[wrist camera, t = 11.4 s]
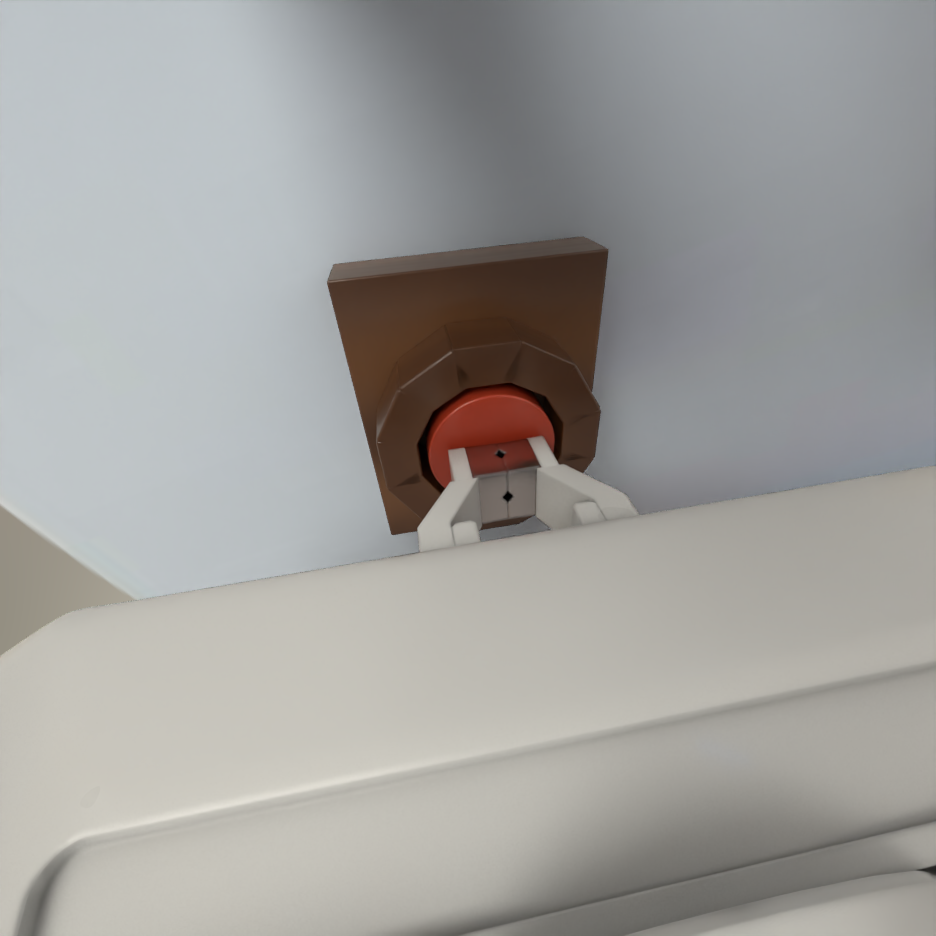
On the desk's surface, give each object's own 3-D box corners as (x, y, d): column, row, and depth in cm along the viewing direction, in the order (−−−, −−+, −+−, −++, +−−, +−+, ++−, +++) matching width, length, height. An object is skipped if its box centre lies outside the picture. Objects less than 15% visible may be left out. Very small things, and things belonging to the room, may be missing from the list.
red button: (416, 375, 14) (419, 405, 12) (540, 358, 14) (558, 386, 13) (431, 474, 16) (436, 510, 15) (536, 458, 16) (552, 491, 15)
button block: (332, 263, 13) (317, 303, 10) (584, 235, 14) (642, 265, 11) (390, 503, 20) (392, 574, 16) (564, 476, 20) (597, 539, 17)
